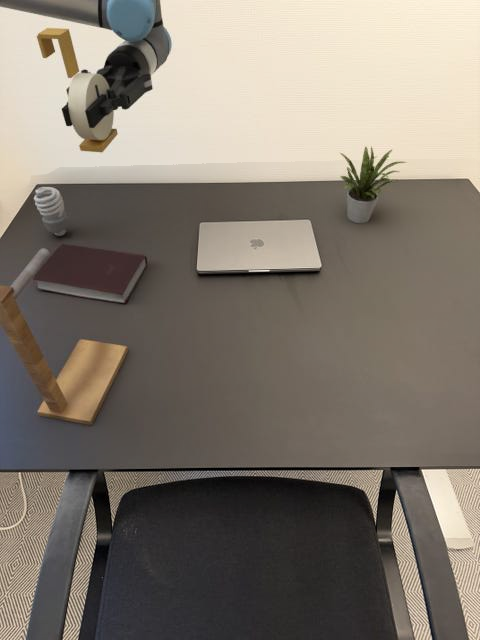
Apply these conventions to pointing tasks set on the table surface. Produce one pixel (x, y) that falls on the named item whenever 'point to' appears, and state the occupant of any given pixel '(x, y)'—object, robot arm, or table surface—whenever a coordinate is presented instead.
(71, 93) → the clock
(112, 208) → the table surface
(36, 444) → the table surface
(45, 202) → the light bulb
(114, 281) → the book
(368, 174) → the house plant
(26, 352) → the stand
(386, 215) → the table surface
